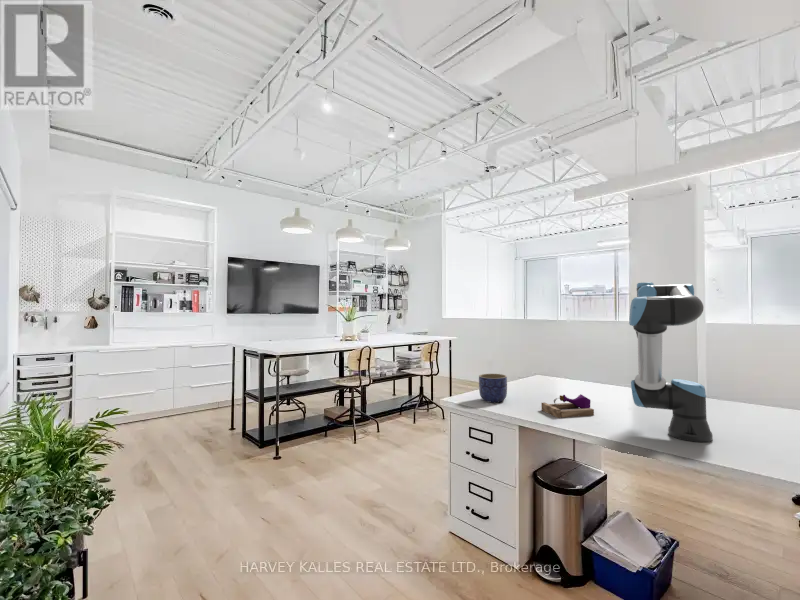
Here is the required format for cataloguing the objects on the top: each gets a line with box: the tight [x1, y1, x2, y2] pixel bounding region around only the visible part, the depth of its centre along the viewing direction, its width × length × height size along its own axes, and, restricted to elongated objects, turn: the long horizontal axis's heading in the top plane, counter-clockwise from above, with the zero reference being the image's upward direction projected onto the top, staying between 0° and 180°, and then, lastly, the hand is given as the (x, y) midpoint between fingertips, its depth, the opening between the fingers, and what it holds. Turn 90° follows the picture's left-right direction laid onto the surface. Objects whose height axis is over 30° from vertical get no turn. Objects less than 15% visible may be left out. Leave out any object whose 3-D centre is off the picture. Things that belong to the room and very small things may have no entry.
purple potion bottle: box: [553, 394, 591, 409], centre depth 209 cm, size 8×8×18 cm
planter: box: [478, 373, 508, 404], centre depth 235 cm, size 17×16×15 cm
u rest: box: [541, 402, 595, 419], centre depth 206 cm, size 15×20×4 cm
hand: (647, 359), depth 197 cm, fingers closed
